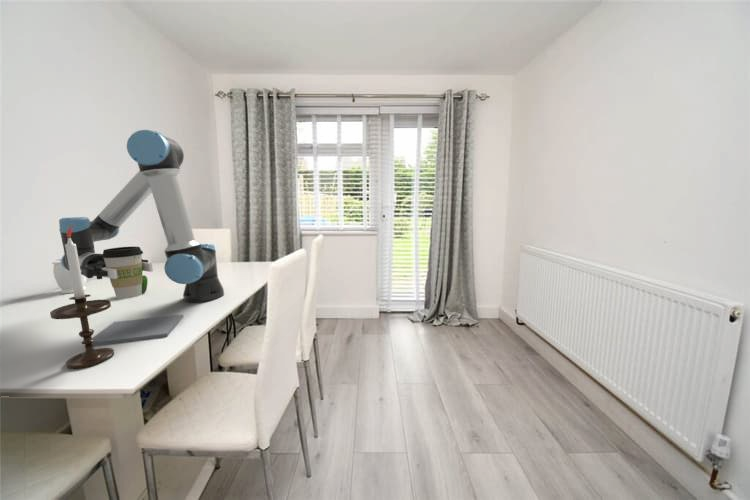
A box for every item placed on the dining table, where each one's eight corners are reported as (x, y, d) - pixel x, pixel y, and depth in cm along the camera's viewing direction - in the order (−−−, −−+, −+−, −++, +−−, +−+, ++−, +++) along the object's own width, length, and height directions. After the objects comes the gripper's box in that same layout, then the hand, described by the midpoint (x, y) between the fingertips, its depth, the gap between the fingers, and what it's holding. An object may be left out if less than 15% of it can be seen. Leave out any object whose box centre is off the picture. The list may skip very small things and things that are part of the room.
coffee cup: (125, 301, 87) (117, 251, 84) (100, 299, 89) (91, 250, 86) (156, 291, 96) (150, 246, 94) (133, 290, 98) (126, 245, 96)
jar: (50, 294, 132) (44, 261, 130) (77, 287, 142) (71, 257, 140) (70, 295, 131) (63, 262, 128) (95, 288, 141) (90, 257, 138)
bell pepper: (119, 296, 129) (116, 273, 127) (138, 290, 137) (135, 269, 135) (134, 297, 127) (131, 274, 125) (153, 291, 135) (150, 270, 133)
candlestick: (128, 347, 83) (108, 223, 77) (97, 369, 72) (71, 227, 66) (85, 350, 81) (62, 224, 76) (47, 373, 71) (17, 228, 65)
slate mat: (183, 317, 105) (182, 314, 104) (167, 336, 90) (166, 333, 89) (114, 324, 98) (114, 321, 98) (85, 346, 83) (84, 343, 83)
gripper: (134, 268, 109) (172, 274, 99) (53, 283, 90) (90, 292, 80) (131, 248, 108) (169, 252, 98) (48, 259, 88) (86, 265, 79)
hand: (134, 270), depth 89 cm, fingers closed on coffee cup, 9 cm apart
